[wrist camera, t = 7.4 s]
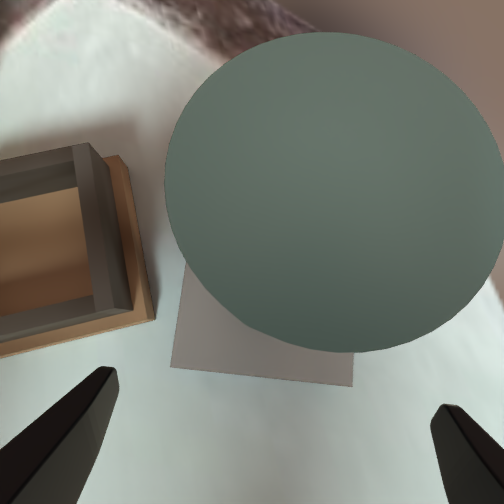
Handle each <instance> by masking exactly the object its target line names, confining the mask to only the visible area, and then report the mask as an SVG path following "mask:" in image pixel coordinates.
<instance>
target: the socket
mask: <svg viewBox="0 0 504 504" xmlns="http://www.w3.org/2000/svg"><path fill="white" fill-rule="evenodd" d="M153 320H155V316H154V310H153V305H152V299H151V294H150V288H149V283H148V277H147V272H146V266H145V261H144V255H143V250H142V244H141V239H140V233H139V228H138V222H137V217H136V211H135V206H134V200H133V195H132V189H131V184H130V178H129V173H128V167H127V166H126V165H125V163H124V162H123V161H122V159H121V158H120V157H119V155H116V156H111V157H106V158H101V157H100V155H99V154H98V153H97V152H96V151H95V150H94V148H93V147H92V146H91V145H90V144H89V143H83V144H78V145H73V146H68V147H64V148H59V149H54V150H49V151H44V152H40V153H35V154H30V155H25V156H20V157H15V158H11V159H6V160H1V161H0V358H4V357H8V356H12V355H16V354H20V353H24V352H28V351H32V350H36V349H40V348H44V347H48V346H52V345H56V344H60V343H64V342H68V341H72V340H76V339H80V338H84V337H88V336H92V335H96V334H100V333H104V332H109V331H113V330H117V329H121V328H125V327H129V326H133V325H137V324H141V323H145V322H149V321H153Z"/></svg>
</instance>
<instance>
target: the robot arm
mask: <svg viewBox="0 0 504 504" xmlns="http://www.w3.org/2000/svg"><path fill="white" fill-rule="evenodd" d="M118 394H119V382H118V376H117V371H116V369H115V368H114V367H106V366H101V367H99V368H97V369H96V370H95V371H94V372H92V373H91V374H90V375H89V376H88V377H86V378H85V379H84V380H83V381H82V382H80V383H79V384H78V385H77V386H76V387H74V388H73V389H72V390H71V391H70V392H68V393H67V394H66V395H65V396H64V397H62V398H61V399H60V400H59V401H58V402H56V403H55V404H54V405H53V406H52V407H50V408H49V409H48V410H47V411H46V412H44V413H43V414H42V415H41V416H40V417H39V418H37V419H36V420H35V421H34V422H33V423H31V424H30V425H29V426H28V427H27V428H25V429H24V430H23V431H22V432H21V433H19V434H18V435H17V436H16V437H15V438H13V439H12V440H11V441H10V442H9V443H7V444H6V445H5V446H4V447H3V448H1V449H0V504H76V503H77V501H78V499H79V497H80V494H81V492H82V490H83V488H84V485H85V483H86V481H87V479H88V477H89V474H90V472H91V470H92V468H93V465H94V463H95V461H96V458H97V456H98V454H99V451H100V448H101V445H102V442H103V439H104V436H105V433H106V430H107V427H108V424H109V421H110V418H111V415H112V412H113V409H114V406H115V403H116V400H117V397H118ZM430 429H431V433H432V438H433V442H434V446H435V451H436V455H437V459H438V464H439V468H440V472H441V477H442V481H443V485H444V489H445V492H446V495H447V499H448V502H449V504H504V449H503V448H502V447H501V446H500V445H499V444H498V443H497V442H496V441H495V440H494V439H493V438H492V437H491V436H490V435H489V434H488V433H487V432H486V431H485V430H484V429H483V428H482V427H481V426H480V425H478V424H477V423H476V422H475V421H474V420H473V419H472V418H471V417H470V416H469V415H468V414H467V413H466V412H465V411H464V410H463V409H462V408H461V407H459V406H457V405H452V404H442V405H441V406H440V407H439V409H438V410H437V412H436V413H435V415H434V417H433V418H432V420H431V423H430Z"/></svg>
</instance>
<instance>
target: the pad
mask: <svg viewBox="0 0 504 504" xmlns="http://www.w3.org/2000/svg"><path fill="white" fill-rule="evenodd" d="M353 354H354V353H335V352H327V351H319V350H312V349H308V348H304V347H300V346H297V345H293V344H289V343H286V342H284V341H281V340H279V339H276V338H274V337H271V336H269V335H267V334H264V333H262V332H260V331H257V330H255V329H253V328H250V327H248V326H247V325H245V324H244V323H242V322H241V321H240V320H239V319H238V318H236V317H235V316H234V315H233V314H232V313H231V312H229V311H228V310H227V309H226V308H225V307H223V306H222V305H221V304H220V303H219V302H218V301H217V300H216V299H215V298H214V297H213V296H212V295H211V294H210V293H209V292H208V291H207V290H206V288H205V287H204V286H203V285H202V283H201V282H200V281H199V279H198V278H197V277H196V275H195V274H194V273H193V271H192V270H191V269H190V267H189V265H188V263H187V261H186V266H185V272H184V279H183V285H182V292H181V299H180V305H179V312H178V318H177V325H176V331H175V338H174V345H173V351H172V358H171V364H170V367H172V368H182V369H191V370H200V371H209V372H219V373H228V374H237V375H246V376H255V377H265V378H274V379H283V380H292V381H301V382H311V383H320V384H329V385H338V386H347V387H352V382H353Z"/></svg>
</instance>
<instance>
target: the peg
mask: <svg viewBox="0 0 504 504" xmlns="http://www.w3.org/2000/svg"><path fill="white" fill-rule="evenodd" d="M164 187H165V199H166V207H167V212H168V216H169V220H170V225H171V228H172V231H173V233H174V236H175V239H176V241H177V244H178V246H179V249H180V251H181V252H182V254H183V256H184V258H185V260H186V261H187V263H188V265H189V267H190V269H191V270H192V271H193V273H194V274H195V275H196V277H197V278H198V279H199V281H200V282H201V283H202V285H203V286H204V287H205V288H206V290H207V291H208V292H209V293H210V294H211V295H212V296H213V297H214V298H215V299H216V300H217V301H218V302H219V303H220V304H221V305H222V306H223V307H225V308H226V309H227V310H228V311H229V312H231V313H232V314H233V315H234V316H235V317H236V318H238V319H239V320H240V321H241V322H242V323H244V324H245V325H247V326H248V327H250V328H253V329H255V330H257V331H260V332H262V333H264V334H267V335H269V336H271V337H274V338H276V339H279V340H281V341H284V342H286V343H289V344H293V345H297V346H300V347H304V348H308V349H312V350H319V351H327V352H335V353H358V352H368V351H375V350H382V349H388V348H391V347H394V346H398V345H401V344H404V343H408V342H411V341H413V340H415V339H417V338H419V337H421V336H424V335H426V334H428V333H430V332H432V331H434V330H435V329H437V328H438V327H440V326H441V325H443V324H444V323H446V322H447V321H449V320H450V319H452V318H453V317H454V316H455V315H456V314H457V313H458V312H459V311H461V310H462V309H463V308H464V307H465V306H466V305H467V304H468V303H469V302H470V301H471V300H472V298H473V297H474V296H475V295H476V294H477V292H478V291H479V290H480V289H481V287H482V286H483V285H484V283H485V281H486V279H487V278H488V276H489V274H490V273H491V271H492V269H493V267H494V265H495V263H496V260H497V258H498V255H499V253H500V250H501V248H502V244H503V240H504V164H503V161H502V158H501V155H500V152H499V149H498V146H497V143H496V141H495V139H494V137H493V135H492V133H491V131H490V129H489V127H488V125H487V123H486V122H485V121H484V119H483V117H482V116H481V114H480V112H479V111H478V109H477V108H476V107H475V105H474V104H473V103H472V102H471V101H470V99H469V98H468V97H467V96H466V94H465V93H464V92H463V91H462V90H461V89H460V88H459V87H458V86H457V85H456V84H455V83H454V82H453V81H451V80H450V79H449V78H448V77H447V76H446V75H444V74H443V73H442V72H441V71H439V70H438V69H437V68H435V67H434V66H433V65H431V64H429V63H428V62H426V61H424V60H423V59H421V58H419V57H418V56H416V55H415V54H413V53H410V52H408V51H406V50H404V49H402V48H400V47H398V46H395V45H392V44H389V43H386V42H384V41H381V40H378V39H374V38H370V37H365V36H360V35H355V34H347V33H339V32H313V33H303V34H295V35H291V36H286V37H281V38H277V39H274V40H271V41H268V42H265V43H262V44H259V45H257V46H255V47H253V48H251V49H249V50H247V51H245V52H243V53H241V54H239V55H238V56H236V57H235V58H233V59H231V60H230V61H228V62H227V63H225V64H224V65H223V66H221V67H220V68H219V69H218V70H217V71H215V72H214V73H213V74H212V75H211V76H210V77H209V78H208V79H207V80H206V81H205V82H204V83H203V84H202V85H201V86H200V87H199V88H198V90H197V91H196V92H195V93H194V95H193V96H192V98H191V99H190V101H189V102H188V103H187V105H186V106H185V108H184V110H183V112H182V114H181V116H180V118H179V120H178V122H177V124H176V126H175V129H174V132H173V135H172V137H171V140H170V143H169V148H168V153H167V158H166V163H165V180H164Z"/></svg>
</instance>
